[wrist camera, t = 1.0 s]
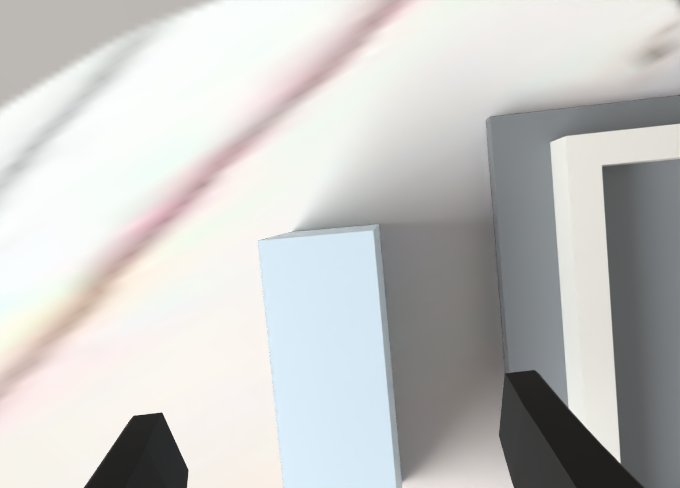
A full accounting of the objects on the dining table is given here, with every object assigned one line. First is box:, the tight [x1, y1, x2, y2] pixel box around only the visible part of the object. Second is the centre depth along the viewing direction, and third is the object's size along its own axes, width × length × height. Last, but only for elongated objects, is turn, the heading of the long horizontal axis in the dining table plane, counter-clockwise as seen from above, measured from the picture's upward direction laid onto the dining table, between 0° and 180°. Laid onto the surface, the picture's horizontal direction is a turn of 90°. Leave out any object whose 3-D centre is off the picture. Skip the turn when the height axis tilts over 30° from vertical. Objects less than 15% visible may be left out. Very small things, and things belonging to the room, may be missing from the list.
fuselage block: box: [258, 224, 402, 488], centre depth 21 cm, size 12×4×6 cm, turn 6°
